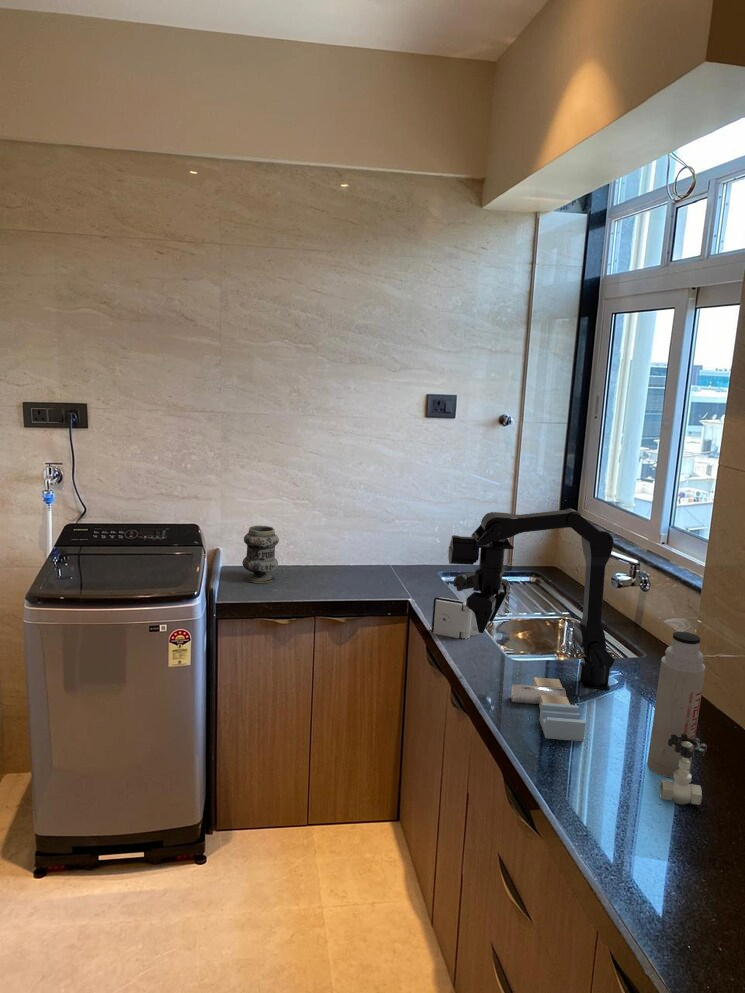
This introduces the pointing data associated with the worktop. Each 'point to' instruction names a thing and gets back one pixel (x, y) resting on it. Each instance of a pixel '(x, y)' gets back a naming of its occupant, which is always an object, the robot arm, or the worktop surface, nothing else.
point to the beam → (546, 698)
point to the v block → (562, 722)
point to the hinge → (453, 618)
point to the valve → (683, 772)
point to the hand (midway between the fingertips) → (485, 626)
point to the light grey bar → (533, 693)
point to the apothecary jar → (260, 553)
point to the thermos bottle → (676, 701)
